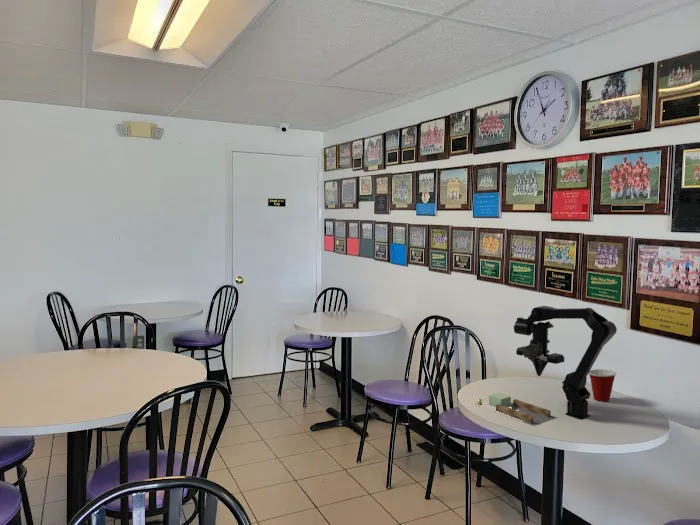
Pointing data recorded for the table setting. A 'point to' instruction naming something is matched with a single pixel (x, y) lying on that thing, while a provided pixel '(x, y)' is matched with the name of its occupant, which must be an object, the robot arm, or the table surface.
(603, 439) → the table surface
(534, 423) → the charcoal runway
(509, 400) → the sage block
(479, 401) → the brass pegs
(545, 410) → the walnut channel
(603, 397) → the plastic cup
